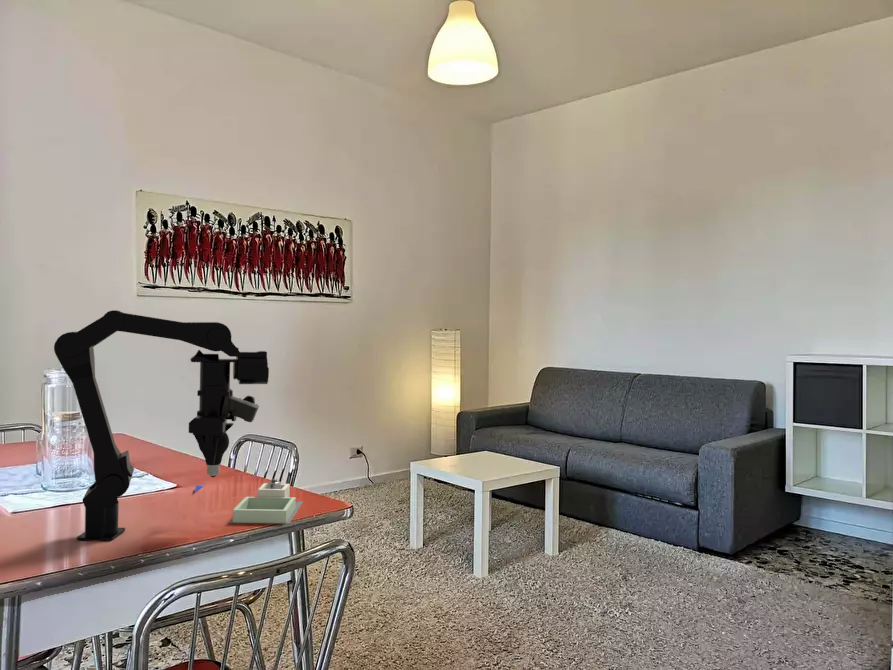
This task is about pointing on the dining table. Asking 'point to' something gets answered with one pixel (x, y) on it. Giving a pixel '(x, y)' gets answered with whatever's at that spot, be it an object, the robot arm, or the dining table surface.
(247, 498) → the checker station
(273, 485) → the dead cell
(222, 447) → the light bulb
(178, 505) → the dining table surface
